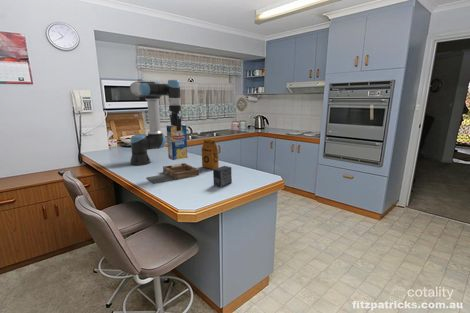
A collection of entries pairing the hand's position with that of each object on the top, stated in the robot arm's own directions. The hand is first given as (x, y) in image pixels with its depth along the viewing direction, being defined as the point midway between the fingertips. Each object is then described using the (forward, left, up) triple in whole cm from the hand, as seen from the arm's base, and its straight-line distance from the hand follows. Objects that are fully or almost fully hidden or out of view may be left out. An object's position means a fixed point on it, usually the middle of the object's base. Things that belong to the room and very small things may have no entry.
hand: (176, 140), depth 167 cm
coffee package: (-4, +28, -24) cm, 38 cm away
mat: (0, -13, -24) cm, 27 cm away
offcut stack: (-11, +3, -25) cm, 27 cm away
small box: (+33, +14, -24) cm, 44 cm away
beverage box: (0, 0, -12) cm, 12 cm away
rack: (-3, +3, -24) cm, 25 cm away
